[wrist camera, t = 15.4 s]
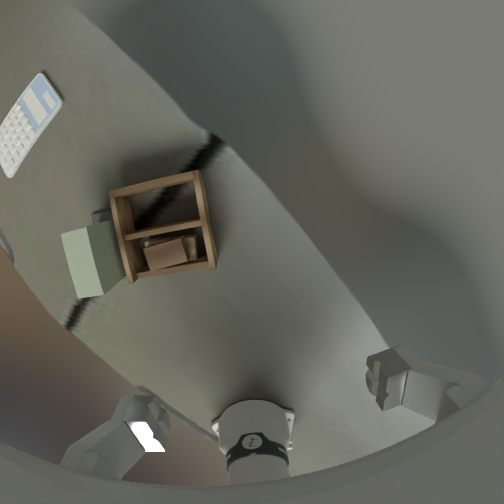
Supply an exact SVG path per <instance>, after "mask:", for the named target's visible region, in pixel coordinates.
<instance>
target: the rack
mask: <svg viewBox="0 0 504 504" xmlns="http://www.w3.org/2000/svg"><path fill="white" fill-rule="evenodd" d="M192 181H194V186H195V192H196V198H197V204H198V209H199V215H200V218H196V219H190V220H185V221H180V222H175V223H170V224H165V225H160V226H155V227H151V228H146V229H141V230H137V231H135V226H134V221H133V216H132V211H131V205H130V200H129V196H131V195H134V194H138V193H142V192H147V191H151V190H155V189H159V188H164V187H168V186H173V185H177V184H182V183H187V182H192ZM109 198H110V203H111V209H112V214H113V220H114V224H115V229H116V234H117V239H118V243H119V247H120V252H121V256H122V260H123V264H124V267H125V271H126V275H127V279H128V282H129V284H130V283H134V282H135V281H136V280H137V279H138V278H142V277H148V276H154V275H160V274H166V273H172V272H178V271H184V270H190V269H196V268H202V267H208V266H210V270H215V269H216V267H217V262H218V256H217V251H216V246H215V240H214V235H213V230H212V224H211V219H210V213H209V208H208V202H207V196H206V190H205V185H204V179H203V173H202V172H200V171H199V170H195V171H190V172H185V173H181V174H176V175H172V176H167V177H163V178H159V179H154V180H150V181H146V182H142V183H138V184H135V185H131V186H127V187H123V188H120V189H116V190H113V191H109ZM198 226H202V231H203V236H204V241H205V246H206V251H207V256H201V257H198V258H197V260H191V261H187V262H183V263H180V264H176V265H172V266H168V267H165V268H161V269H157V270H154V271H150V268H149V266H144V265H143V261H142V257H141V253H140V249H139V244H138V240H137V238H142V237H146V236H151V235H156V234H161V233H166V232H171V231H176V230H182V229H187V228H192V227H198Z"/></svg>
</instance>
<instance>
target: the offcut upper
mask: <svg viewBox="0 0 504 504" xmlns="http://www.w3.org/2000/svg"><path fill="white" fill-rule="evenodd" d="M143 250H144V253H145V256H146V259H147V262H148V265H149V268H150V271H154V270H157V269H161V268H165V267H168V266H172V265H176V264H180V263H183V262H187V261H188V260H189V258H190V255H189V252H188V248H187V245H186V242H185V238H184V235H183V236H179V237H176V238H172V239H169V240H166V241H162V242H159V243H155V244H152V245H149V246H147V247H145V248H144V249H143Z"/></svg>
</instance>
